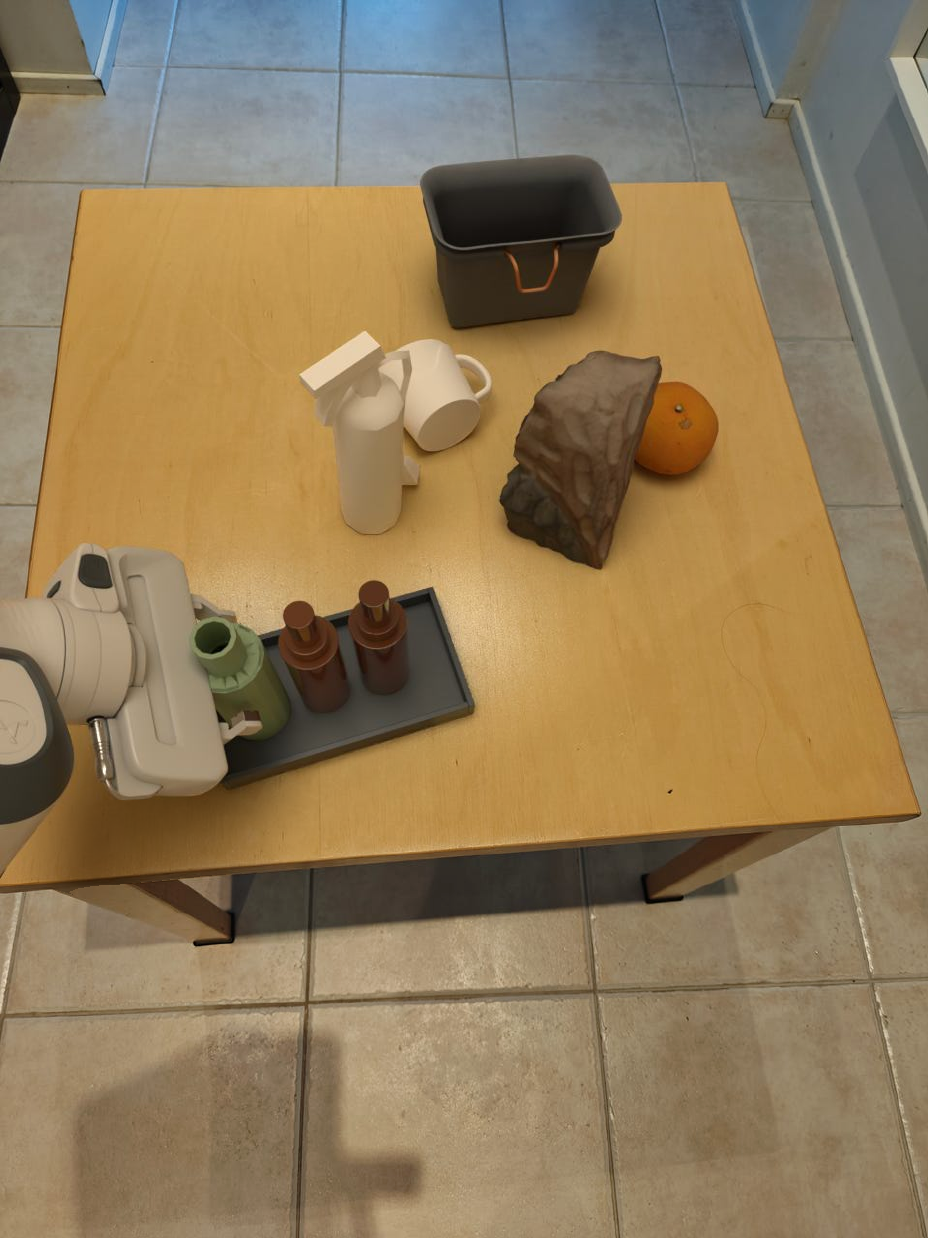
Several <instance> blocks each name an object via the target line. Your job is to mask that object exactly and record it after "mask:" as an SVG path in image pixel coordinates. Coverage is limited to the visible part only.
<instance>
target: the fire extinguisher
mask: <svg viewBox="0 0 928 1238" xmlns="http://www.w3.org/2000/svg"><path fill="white" fill-rule="evenodd" d="M400 359H402V366H403V374H404V377H403V381H402V385H401V389H400V391H399V388H398V386H397V384H396V383H395V382H394V380H393V379H391V378H390V377H388V376H387V375H385V374H383V373H382V372H380V371H379V370H378V368H379V367H381V366H383V365H385V364H386V363H388V362H390V361H391V360H400ZM411 373H412V365H411V359H410V353H409V350H408V351H396V350H394V351H392V350H391V351H388V352H387V353H385V352H384V350H383V348H382V346H381V345H380V344H379V343H378V342H377V340H375V339H374V338H373V336H371V335H370V333H368V332H367V331H366V330H363V331H362V332H360V333H359V334H357V335H356V336H354V337H353V338H352V339H350V340H348V341H347V342H346V343H344V344H343V345H341V346H340V347H338V348H337V349H335V350H334V351H332V352H331V353H329V354H328V355H326V356H325V357H323V358H322V359H321V360H318V361H317V362H316V363H315V364H312V365H311V366H310V367H308V368H307V369H305V370H304V371H302V372H301V373H299V375H298V376H299V383H300V385H302V387H304V389H305V390H306V391H307V392H308V393H309V394H310V395H311V396H312V397H313V398H314V399H315V405H314V410H313V415H314V416H315V417H316V419H317V420H318V421H319V422H320V423H321V425H322V426H323V427H332V433H333V444H334V453H335V463H336V471H337V472H336V474H337V483H338V484H337V485H338V493H339V502H340V509H341V513H342V516H343V519H344V522H345V525H347V526H348V527H350V528H352V529H353V530H354V531H356V532H358V533H359V534H361V535H362V534H364V535H381V534H382V533H384V532H386V531H388V530H389V529H391V528H393V527H395V526H396V524H397V522H398V519H399V517H400V514H401V512H402V493H403V492H402V490H403V486H418V483H419V477H420V472H421V465H420V464H419V463H417V462H416V460H414V459H413V458H412V457H411V456H410V455H404V426H403V425H404V411H405V401H406V394H407V390H408V386H409V382H410V378H411Z"/></svg>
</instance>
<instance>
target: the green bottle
mask: <svg viewBox="0 0 928 1238" xmlns="http://www.w3.org/2000/svg"><path fill="white" fill-rule="evenodd" d="M189 641H190V646H191V650H192V651H193V652H194V654H195V655H196V657H197V658H198V659H199V661H200V662H201V663H202V665H203V666H204V667H205V668H206V670H207V672H208V677H209V681H210V686H211V691H212V695H213V700H214V704H215V708H216V710H217V711H218V712H219V713H220V715H221V716H222V717H223V718H224V720H225V721H226V722H227V723H228V724H229V726H230V727H231V728H232V723H231V719H232V718H233V717H234V716H237V715H238V713H240V712H241V711H242V710H250V711H251V712H252V711H254V710H257V711H259V715H260V719H261V723H262V729H260V730H259V731H258V732H256V733H255V734H252V735H239V736H241V737H243V738H245V739H248V740H253V741H258V740H265V739H268V738H270V737H272V736H274V735H276V734H277V733H278V732H280V731H281V730H282V729H283V728H284V726H285V725H286V723H287V721H288V719H289V716H290V712H291V704H290V700H289V697H288V694H287V692H286V690H285V688H284V686H283V684H282V682H281V680H280V678H279V676H278V674H277V672H276V670H275V668H274V666H273V664H272V662H271V660H270V658H269V656H268V654H267V652H266V650H265V648H264V646H263V644H262V642H261V640H260V638H259V637H258V636H257V634H256V632H255V631H254V630H253V629H251V628H250V627H248V626H246V625H244V624H242V623H238V622H237V623H230V622H229V621H228V620H227V619H224V618H220V617H210V618H207V619H203V620H201V621H199V622H197V625H196V626H195V627H193V629H192V632H191V635H190V637H189Z"/></svg>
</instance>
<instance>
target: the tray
mask: <svg viewBox="0 0 928 1238" xmlns="http://www.w3.org/2000/svg"><path fill="white" fill-rule="evenodd" d="M391 599H393V600H395V601H396V602H397V603H399V604H400V605H401V607H402V608H403V609H404V611H405V613H406V616H407V626H408V644H409V663H410V675H409V679H408V681H407V683H406V684H405V686H404V687H403V688H402V689H401V690H399V691H398V692H396V693H393V694H390V695H378V694H375V693H372V692H370V691H369V690H368V689H366V688H365V687H364V685H363V684H362V682H361V680H360V676H359V672H358V667H357V663H356V659H355V654H354V650H353V645H352V641H351V637H350V632H349V628H348V620H349V616H350V613H351V611H352V610H353V608H351V609H347V610H343V611H340V612H336V613H332V614H329V615H326V616H322V617H323V618H325V619H327V620H328V621H329V622H330V623H331V624H332V625H333V626H334V627H335V629H336V631H337V634H338V637H339V641H340V645H341V649H342V653H343V656H344V660H345V664H346V668H347V672H348V675H349V679H350V683H351V692H350V696H349V698H348V700H347V701H346V703H345V704H344V705H343V706H342V707H341V708H339V709H338V710H336V711H334V712H330V713H317V712H314V711H312V710H310V709H308V708H307V707H306V706H305V705H304V704H303V702H302V700H301V698H300V696H299V694H298V692H297V689H296V687H295V685H294V683H293V681H292V679H291V676H290V674H289V672H288V670H287V668H286V666H285V663H284V661H283V659H282V657H281V655H280V652H279V648H278V640H279V636H280V634H281V632H282V630H283V628H284V627H283V628H282V627H281V628H278V629H276V630H272V631H268V632H265V633H261V634H258V635H257V634H256V635H257V636H258V637H259V638H260V640H261V642H262V644H263V646H264V648H265V650H266V652H267V654H268V656H269V658H270V660H271V662H272V664H273V666H274V668H275V670H276V672H277V674H278V676H279V678H280V680H281V682H282V684H283V686H284V688H285V690H286V692H287V694H288V697H289V700H290V704H291V712H290V716H289V719H288V721H287V723H286V725H285V726H284V728H283V729H282V730H281V731H280V732H278V733H277V734H276V735H274V736H272V737H270V738H268V739H265V740H258V741H253V740H248V739H245V738H243V737H241V736H239V735H236V736H235V737H234V738H232V739H231V740H230V741H228V742H227V743H226V744H224V745H223V746H224V750H225V755H226V759H227V764H228V772H227V773H226V775H225V776H224V777H223V778H222V780H221V781H220V782H219V784H220V785H221V786H222V787H223V788H224V789H225V790H227V791H229V790H233V789H236V788H240V787H243V786H246V785H249V784H253V783H256V782H259V781H262V780H265V779H268V778H272V777H275V776H278V775H281V774H285V773H288V772H292V771H295V770H297V769H300V768H304V767H306V766H310V765H313V764H317V763H320V762H323V761H327V760H330V759H332V758H336V757H339V756H342V755H345V754H349V753H352V752H355V751H359V750H361V749H362V750H363V749H365V748H367V747H371V746H374V745H375V746H376V745H377V744H381V743H385V742H388V741H391V740H394V739H396V738H400V737H403V736H407V735H410V734H412V733H416V732H419V731H423V730H426V729H430V728H432V727H435V726H439V725H442V724H446V723H448V722H452V721H455V720H458V719H461V718H465V717H469V716H471V715H474V712H475V708H476V707H475V706H476V704H475V701H474V697H473V695H472V692H471V689H470V687H469V683H468V680H467V678H466V676H465V672H464V670H463V667H462V664H461V661H460V659H459V656H458V655H459V654H458V652H457V650H456V647H455V644H454V642H453V638H452V636H451V633H450V629H449V627H448V625H447V621H446V619H445V616H444V613H443V611H442V608H441V605H440V602H439V599H438V596H437V594H436V591H435V588H434V586H430V587H426V588H423V589H419V590H415V591H410V592H408V593H405V594H404V593H403V594H401V595H397V596H394V597H391ZM215 709H216V708H215ZM216 713H217V718H218V723H227V722H226V721H225V720H224V718H223V717H222V716H221V715H220V713H219V712H218V711H217V710H216ZM228 726H229V724H228ZM230 729H231V727H230V726H229V729H228V730H230Z"/></svg>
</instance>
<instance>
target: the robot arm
mask: <svg viewBox="0 0 928 1238" xmlns="http://www.w3.org/2000/svg"><path fill="white" fill-rule="evenodd" d="M190 589H191V588H190V585H189V580H188V575H187V571H186V566H185V562H183V561H182V559H180V558H179V557H178V556H177V555H175V554H174V553H172V552H170V551H167V550H163V549H158V548H153V547H152V548H151V547H146V546H145V547H143V546H135V545H116V546H113V547H111V548H109V549H108V550H107V549H106V548H104V547H103V546H101V545H99V544H96V543H91V542H83V543H80V544H79V545H78V546H76V548H75V549H74V550H72V552H71V553H69V555H68V556H67V557H66V558H65V559H64V560H63V562H61V564H60V565H59V566H58V568H57V569H56V570H55V572H54V573H53V575H52V576H51V577H50V579H49V580H48V582H47V584H46V585H45V587H44V590H43V592H42V596H32V597H25V598H19V599H10V598H2V597H0V879H2V876H3V875H4V873H5V872H6V870H7V869H8V867H9V866H10V864H11V863H12V861H13V860H14V859H15V858H16V856H17V855H18V854H19V853H20V852H21V850H22V849H23V848H24V846H25V845H26V844H27V842H28V841H29V840H30V839H31V838H32V836H33V835H34V834H35V832H36V831H37V829H38V828H39V827H40V825H41V824H42V823H43V822H44V820H45V819H46V818H47V817H48V815H49V814H50V813H51V811H52V810H53V809H54V807H55V806H56V804H57V803H58V802H59V800H61V797H62V795H63V794H64V792H65V791H66V789H67V787H68V785H69V783H70V781H71V778H72V775H73V773H74V772H73V771H74V767H75V766H74V765H75V750H74V743H73V740H72V736H71V734H70V730H69V728H68V726H88V731H89V738H90V743H91V747H92V750H93V753H94V760H95V763H94V771H95V776H96V778H97V780H98V781H97V782H99V783H103V785H104V787H105V788H106V790H107V791H108V792H109V793H110V794H111V795H112V796H114V797H115V798H116V799H118V800H120V801H134V800H146V799H150V798H152V797H155V796H163V797H196V796H200V795H202V794H205V793H206V792H208V791H210V790H211V789H213V788H214V787H216V786H217V785H218V784H220V781H221V780H222V778H223V777H224V776H225V775H226V773H227V772H228V764H227V759H226V755H225V750H224V746H223V745H224V744H226V743H227V742H228V741H230V740H231V739H232V738H234V737H235V736H236V735H252V734H255V733H256V732H258V731H259V730H260V729H262V723H261V719H260V715H259V711H257V710H254V711H252V712H251V711H250V710H242V711H241V712H240V713H238V715H237V716H234V717H233V718H232V719H231V723H232V728H231V729H230V730H228V729H229V726H228V723H218V718H217V713H216V709H215V704H214V700H213V695H212V691H211V686H210V681H209V677H208V672H207V670H206V668H205V667H204V666H203V665H202V663H201V662H200V661H199V659H198V658H197V657H196V655H195V654H194V652H193V651H192V650H191V646H190V641H189V637H190V635H191V632H192V629H193V627H195V626H196V625H197V624H198V622H197V620H198V621H199V622H200V621H201V620H203V619H207V618H210V617H220V618H224V619H227V620H228V621H229V622H230V623H238V620H237V616H236V612H235V611H234V610H228V609H221V608H219V607H218V606H216V605H215V604H213V603H212V602H211V601H210V600H208V599H206V598H205V597H203V596H202V595H201V594H194V593H191V590H190Z"/></svg>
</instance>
